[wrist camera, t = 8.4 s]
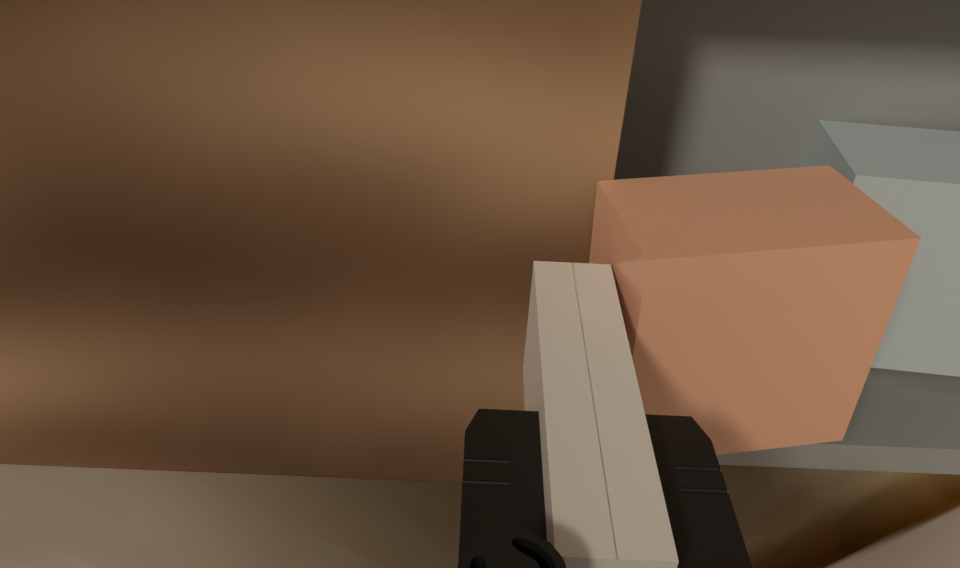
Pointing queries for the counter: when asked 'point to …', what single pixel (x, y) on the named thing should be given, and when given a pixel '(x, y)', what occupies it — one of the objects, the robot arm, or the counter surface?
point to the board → (288, 223)
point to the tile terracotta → (752, 297)
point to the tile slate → (922, 208)
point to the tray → (802, 152)
